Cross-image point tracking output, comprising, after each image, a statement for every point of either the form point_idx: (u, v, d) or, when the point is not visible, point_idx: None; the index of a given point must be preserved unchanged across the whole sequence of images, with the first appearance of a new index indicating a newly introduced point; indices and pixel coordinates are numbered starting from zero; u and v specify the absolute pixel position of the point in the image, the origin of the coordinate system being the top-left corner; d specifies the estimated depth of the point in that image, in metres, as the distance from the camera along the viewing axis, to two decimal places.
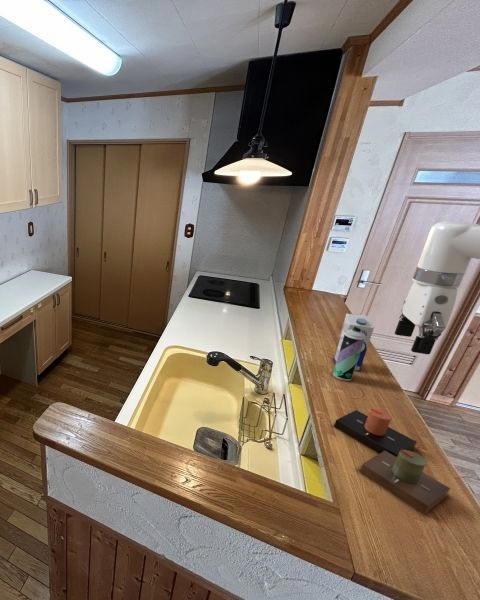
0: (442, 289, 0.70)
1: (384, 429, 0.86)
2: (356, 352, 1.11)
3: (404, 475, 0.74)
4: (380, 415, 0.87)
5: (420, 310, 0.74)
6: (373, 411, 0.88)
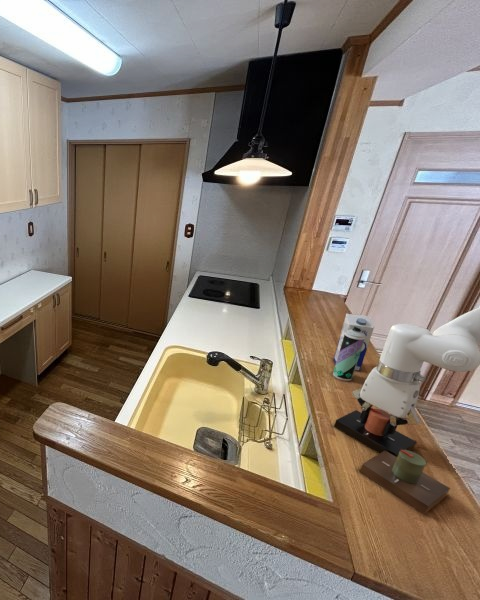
0: (416, 385, 0.79)
1: None
2: (356, 352, 1.11)
3: (404, 475, 0.74)
4: (380, 415, 0.87)
5: (401, 405, 0.81)
6: (373, 411, 0.88)
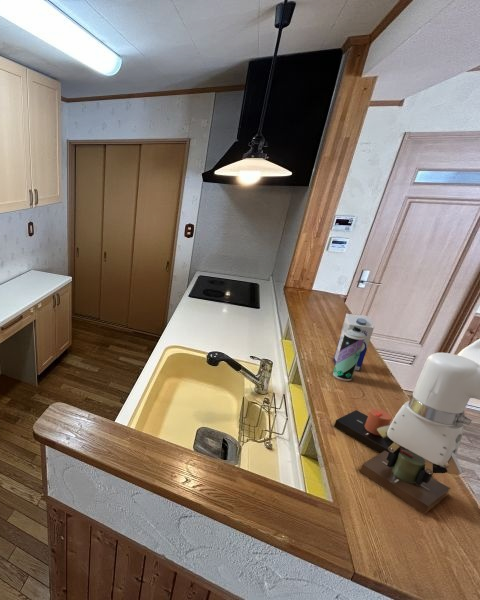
0: (459, 428, 0.66)
1: None
2: (356, 352, 1.11)
3: (404, 475, 0.74)
4: (384, 414, 0.87)
5: (440, 450, 0.67)
6: (381, 416, 0.86)
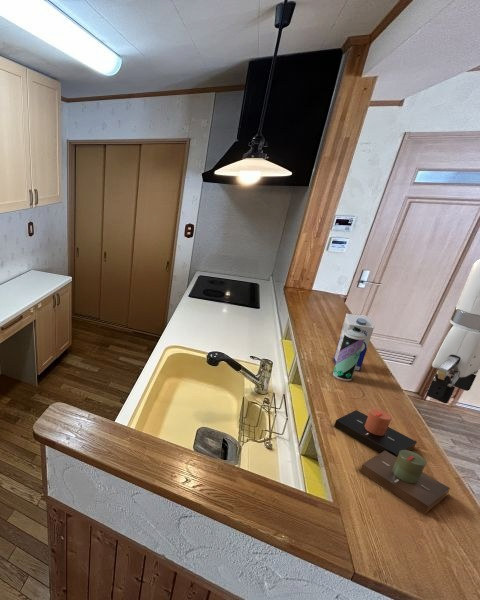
0: None
1: None
2: (356, 352, 1.11)
3: (419, 476, 0.73)
4: (384, 414, 0.87)
5: None
6: (381, 416, 0.86)
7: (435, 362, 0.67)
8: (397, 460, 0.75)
